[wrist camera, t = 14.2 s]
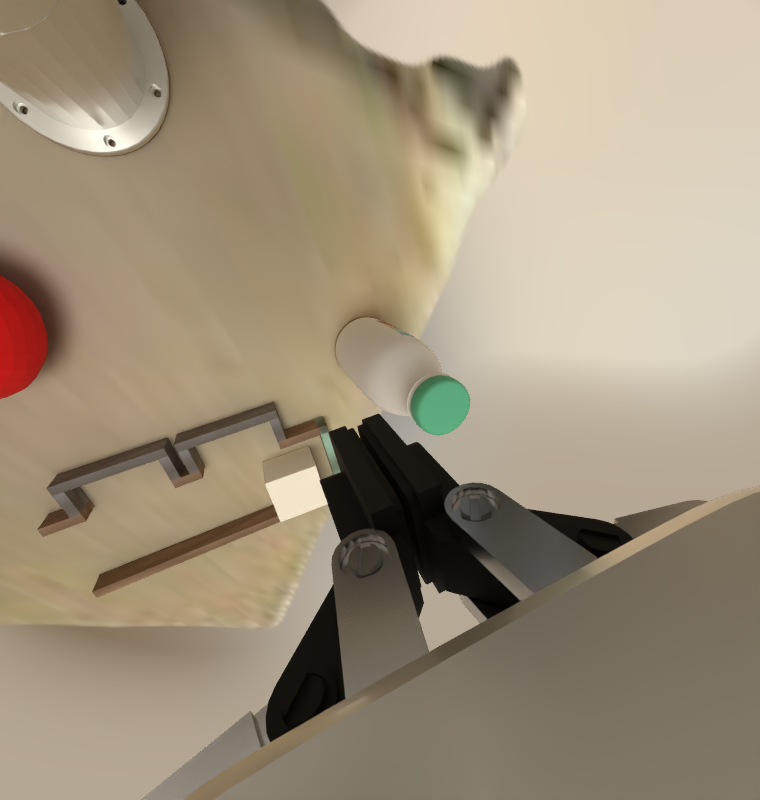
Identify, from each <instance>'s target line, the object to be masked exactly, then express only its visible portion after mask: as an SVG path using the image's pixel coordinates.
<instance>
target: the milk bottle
mask: <svg viewBox="0 0 760 800" xmlns="http://www.w3.org/2000/svg"><path fill="white" fill-rule="evenodd" d="M335 353H336V358H337V361H338V364H339V366H340V367H341V368H342V370H343V371H344V372H345V373H346V375H347V376H348V377H349V378H350V379H351V380H352V381H353V382H354V384H355V385H356V386H357V387H358V388H359V389H360V390H361V391H362V392H363V393H364V395H365V396H366V397H367V398H368V399H370V400H371V401H372V402H373V403H374V404H375V405H376V406H378V407H379V408H381V409H382V410H384V411H386V412H389V413H392V414H396V415H402V416H407V415H408V416H410V417H411V419H412V420H413V421H414V422H416V424H417V425H418V426H419V427H420V428H422V429H423V430H424V431H426V432H427V433H430V434H433V435H444V434H447V433H450V432H452V431H453V430H455V429H456V428H457V427H458V426H459V425H460V424H461V423H462V422H463V421H464V419H465V418H466V416H467V414H468V410H469V407H470V397H469V394H468V392H467V390H466V388H465V387H464V386H463V385H462V384H461V383H460V382H459V381H457V380H455V379H453V378H451V377H450V376H448V375H447V374H444V373H442V370H441V366H440V364H439V361H438V359H437V357H436V356H435V354H434V353H433V352H432V351H431V349H429V347H428V346H426V345H425V344H424V343H423V342H421V341H420V340H418V339H416V338H415V337H413V336H411V335H409V334H407V333H405V332H403V331H401V330H399V329H397V328H395V327H393V326H391V325H389V324H387V323H385V322H383V321H381V320H378V319H375V318H370V317H364V318H359V319H356V320H354V321H352V322H350V323H349V324H348V325H346V326H345V327H344V329H343V330H342V331H341V333H340V334H339V336H338V339H337V342H336V347H335Z"/></svg>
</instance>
